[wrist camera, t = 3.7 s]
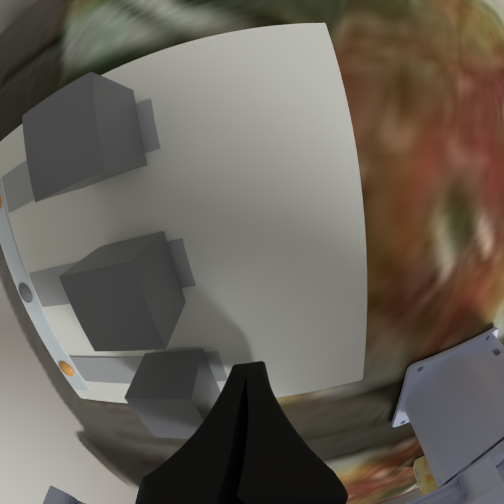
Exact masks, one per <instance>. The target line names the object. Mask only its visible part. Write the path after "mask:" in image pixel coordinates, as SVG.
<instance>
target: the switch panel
mask: <svg viewBox="0 0 504 504" xmlns="http://www.w3.org/2000/svg"><path fill="white" fill-rule="evenodd" d="M101 76H103V77H105V78H107V79H110V80H112V81H114V82H116V83H119V84H121V85H123V86H125V87H127V88H130V89H132V90H133V91H134V97H135V104H136V110H137V115H138V121H139V127H140V132H141V137H142V142H143V147H144V152H145V157H146V161H147V166H143V167H140V168H137V169H134V170H131V171H128V172H125V173H122V174H119V175H117V176H114V177H111V178H108V179H105V180H103V181H100V182H97V183H95V184H92V185H90V186H87V187H85V188H81V189H78V190H74V191H71V192H67V193H64V194H60V195H57V196H54V197H51V198H48V199H44V200H41V201H38V202H35V199H34V195H33V191H32V186H31V181H30V176H29V170H28V164H27V158H26V151H25V143H24V134H23V124H21V125H20V126H19V127H17V128H16V129H15V130H14V131H12V132H11V133H10V134H9V135H7V136H6V137H5V138H4V139H3V140H2V141H0V243H1V246H2V249H3V253H4V256H5V258H6V261H7V264H8V267H9V270H10V272H11V275H12V277H13V280H14V282H15V285H16V287H17V290H18V292H19V294H20V297H21V299H22V301H23V303H24V305H25V308H26V310H27V312H28V314H29V316H30V318H31V320H32V322H33V324H34V326H35V328H36V329H37V331H38V333H39V335H40V337H41V339H42V340H43V342H44V344H45V346H46V347H47V349H48V351H49V352H50V354H51V356H52V357H53V359H54V360H55V362H56V364H57V365H58V367H59V368H60V370H61V371H62V373H63V374H64V376H65V377H66V379H67V380H68V382H69V383H70V384H71V386H72V387H73V389H74V390H75V391H76V393H77V394H78V395H79V397H80V398H84V399H92V400H100V401H109V402H119V403H128V402H127V401H126V399H125V398H124V397H125V395H126V393H127V391H128V388H129V386H130V384H131V382H132V380H133V378H134V375H135V373H136V371H137V369H138V367H139V365H140V363H141V361H142V359H143V356H144V354H145V353H159V352H174V351H187V350H198V349H203V350H204V353H205V355H206V358H207V360H208V363H209V365H210V368H211V370H212V373H213V375H214V377H215V380H216V382H217V385H218V387H219V389H220V393H221V391H222V389H223V387H224V385H225V383H226V381H227V379H228V376H229V374H230V372H231V369H232V366H233V365H234V364H243V363H251V362H258V361H263V362H265V365H266V369H267V373H268V378H269V382H270V386H271V389H272V391H273V393H274V395H275V398H277V397H284V396H290V395H296V394H302V393H307V392H313V391H318V390H322V389H327V388H332V387H336V386H340V385H344V384H348V383H352V382H356V381H360V380H363V371H364V359H365V345H366V326H367V254H366V234H365V220H364V208H363V198H362V188H361V180H360V172H359V165H358V158H357V151H356V145H355V139H354V133H353V128H352V123H351V118H350V113H349V108H348V103H347V99H346V94H345V90H344V86H343V82H342V78H341V74H340V70H339V66H338V63H337V59H336V56H335V52H334V49H333V45H332V42H331V39H330V36H329V33H328V30H327V27H326V24H325V23H304V24H287V25H275V26H266V27H258V28H251V29H245V30H239V31H233V32H228V33H223V34H218V35H214V36H209V37H205V38H201V39H197V40H193V41H190V42H186V43H183V44H179V45H176V46H173V47H170V48H167V49H164V50H161V51H158V52H155V53H152V54H149V55H147V56H144V57H141V58H139V59H136V60H134V61H131V62H129V63H127V64H124V65H122V66H120V67H117V68H115V69H113V70H111V71H109V72H107V73H104V74H102V75H101ZM162 231H164V233H165V237H166V240H167V244H168V247H169V251H170V254H171V257H172V260H173V264H174V267H175V270H176V273H177V276H178V280H179V283H180V286H181V289H182V292H183V295H184V298H185V301H186V303H185V305H184V307H183V310H182V312H181V314H180V317H179V319H178V322H177V324H176V326H175V329H174V331H173V334H172V336H171V338H170V341H169V343H168V346H167V348H166V349H156V350H137V351H94V349H93V347H92V346H91V344H90V342H89V340H88V338H87V336H86V334H85V333H84V331H83V329H82V327H81V325H80V323H79V321H78V319H77V317H76V315H75V313H74V310H73V308H72V306H71V304H70V302H69V300H68V297H67V295H66V293H65V290H64V288H63V286H62V283H61V281H60V278H59V276H60V275H61V274H63V273H64V272H65V271H67V270H68V269H69V268H71V267H72V266H73V265H75V264H76V263H78V262H79V261H80V260H82V259H83V258H84V257H86V256H87V255H89V254H90V253H91V252H93V251H94V250H96V249H97V248H99V247H100V246H103V245H107V244H111V243H115V242H119V241H124V240H128V239H132V238H136V237H140V236H144V235H149V234H153V233H157V232H162Z"/></svg>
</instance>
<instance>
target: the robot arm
mask: <svg viewBox="0 0 504 504" xmlns="http://www.w3.org/2000/svg"><path fill="white" fill-rule="evenodd" d="M498 331H499V330H498V328H497V327H494V328H492V329H490V330H488V331H486V332H484V333H482V334H480V335H478V336H476V337H474V338H472V339H470V340H468V341H466V342H464V343H462V344H460V345H457V346H455V347H453V348H451V349H448V350H446V351H444V352H441V353H439V354H437V355H434V356H432V357H429V358H426V359H424V360H421V361H419V362H416V363H413V364H411V365H410V366H409V367H408V368H407V371H406V375H405V379H404V383H403V387H402V390H401V394H400V397H399V401H398V404H397V408H396V411H395V414H394V417H393V420H392V423H391V424H392V426H393V427H397V426H400V425H403V424H405V423H408V422H410V423H411V425H412V428H413V430H414V432H415V434H416V436H417V439H418V441H419V443H420V446H421V448H422V450H423V453H424V455H425V457H426V460H427V462H428V465H429V467H430V469H431V472H432V474H433V477H434V480H435V482H436V485H437V487H438V489H436V490H434V491H432V492H430V493H427V494H425V495H423V496H421V497H419V498H416V499H414V500H412V501H410V502H407V503H405V504H504V345H503V344H502V343H501V342H500V341H499V340H498V339H497V338H496V337H497V334H498ZM347 499H348V494H347V491H346V489H345V487H344V486H343V484H342V483H341V481H340V480H339V478H338V477H337V476H336V474H335V473H334V471H333V470H332V469H330V468H329V467H328V466H327V465H326V464H325V463H324V462H323V461H322V460H321V459H320V458H319V457H318V456H317V455H316V454H315V453H314V452H313V451H312V450H311V449H310V448H309V446H308V445H307V444H306V443H305V442H304V441H303V439H302V438H301V437H300V436H299V434H298V433H297V432H296V430H295V429H294V428H293V426H292V425H291V423H290V422H289V420H288V419H287V417H286V416H285V414H284V412H283V411H282V409H281V407H280V405H279V403H278V401H277V400H276V398H275V395H274V393H273V391H272V389H271V386H270V382H269V378H268V373H267V369H266V365H265V362H263V361H258V362H251V363H243V364H234V365H233V366H232V369H231V372H230V374H229V376H228V379H227V381H226V383H225V385H224V387H223V389H222V391H221V393H220V395H219V397H218V399H217V400H216V402H215V404H214V406H213V407H212V409H211V410H210V412H209V414H208V415H207V417H206V418H205V420H204V421H203V422H202V424H201V425H200V426H199V428H198V429H197V430H196V432H195V433H194V434H193V435H192V436H191V437H190V439H189V440H188V441H187V442H186V443H185V444H184V445H183V446H182V447H181V448H180V449H179V450H178V451H177V452H176V453H175V454H174V455H172V456H171V457H170V458H169V459H168V460H167V461H166V462H164V463H163V464H162V465H161V466H159V467H158V468H156V469H155V470H154V471H152V472H151V473H149V474H148V475H146V476H145V477H143V480H142V482H141V484H140V487H139V491H138V495H137V499H136V503H135V504H346V502H347ZM43 504H85V503H82V502H80V501H78V500H77V499H75V498H74V497H72V496H71V495H69V494H67V493H65V492H63V491H61V490H59V489H57V488H55V487H53V486H50V487H49V490H48V492H47V495H46V498H45V500H44V502H43Z"/></svg>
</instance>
